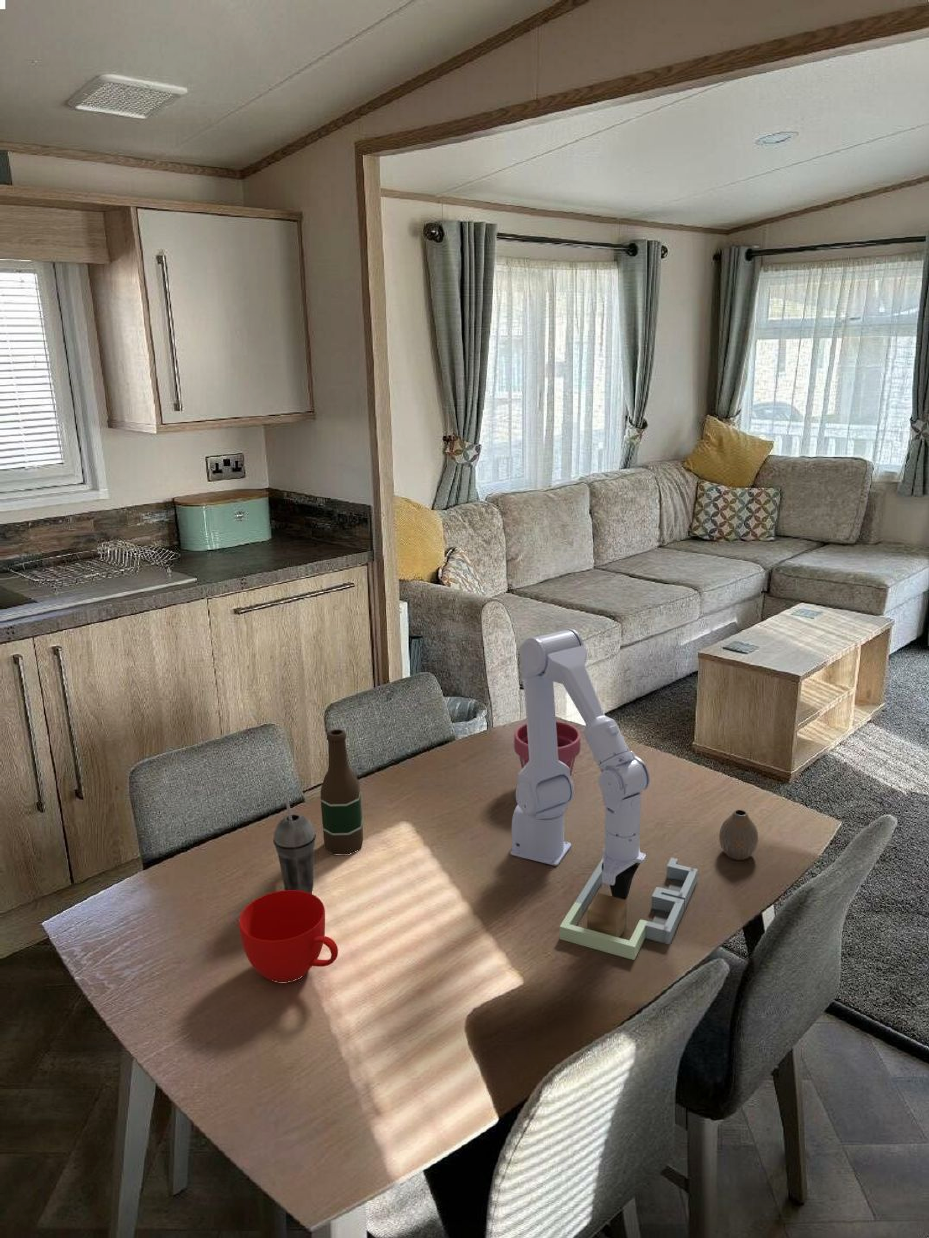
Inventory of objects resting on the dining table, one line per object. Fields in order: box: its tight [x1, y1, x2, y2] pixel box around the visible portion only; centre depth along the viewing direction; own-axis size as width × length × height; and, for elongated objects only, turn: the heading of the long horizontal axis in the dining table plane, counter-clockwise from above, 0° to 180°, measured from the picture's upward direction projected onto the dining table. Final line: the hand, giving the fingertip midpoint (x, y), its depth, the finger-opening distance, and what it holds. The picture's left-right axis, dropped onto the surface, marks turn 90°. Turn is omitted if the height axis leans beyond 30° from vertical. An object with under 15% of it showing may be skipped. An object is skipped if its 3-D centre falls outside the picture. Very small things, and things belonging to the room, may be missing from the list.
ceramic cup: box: [238, 889, 339, 982], centre depth 138 cm, size 13×17×10 cm
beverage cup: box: [272, 796, 317, 894], centre depth 156 cm, size 7×7×20 cm
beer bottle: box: [320, 728, 364, 855], centre depth 171 cm, size 8×8×24 cm
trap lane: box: [559, 857, 699, 961], centre depth 154 cm, size 16×27×2 cm, turn 153°
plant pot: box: [513, 720, 582, 778], centre depth 194 cm, size 14×14×13 cm
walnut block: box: [586, 892, 628, 938], centre depth 147 cm, size 5×5×5 cm
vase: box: [718, 808, 759, 861], centre depth 167 cm, size 7×7×9 cm
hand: (620, 898), depth 154 cm, fingers closed
